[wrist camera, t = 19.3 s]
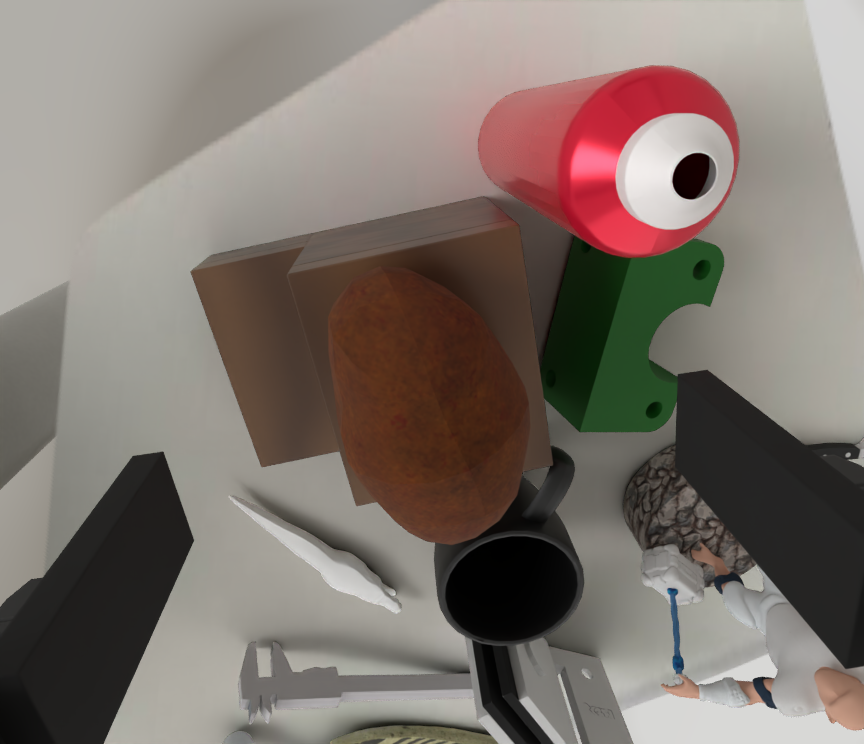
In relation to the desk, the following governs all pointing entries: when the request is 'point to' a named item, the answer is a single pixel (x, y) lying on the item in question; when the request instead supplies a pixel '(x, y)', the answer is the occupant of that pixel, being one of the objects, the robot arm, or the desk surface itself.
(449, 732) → the pottery shard
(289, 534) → the white tapered spike
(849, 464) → the robot arm
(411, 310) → the potato
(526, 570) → the mug
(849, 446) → the knife
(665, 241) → the bottle
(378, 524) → the desk surface
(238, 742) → the molecular model
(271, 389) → the step shelf
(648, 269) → the clamp
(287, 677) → the caliper
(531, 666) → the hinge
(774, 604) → the figurine
